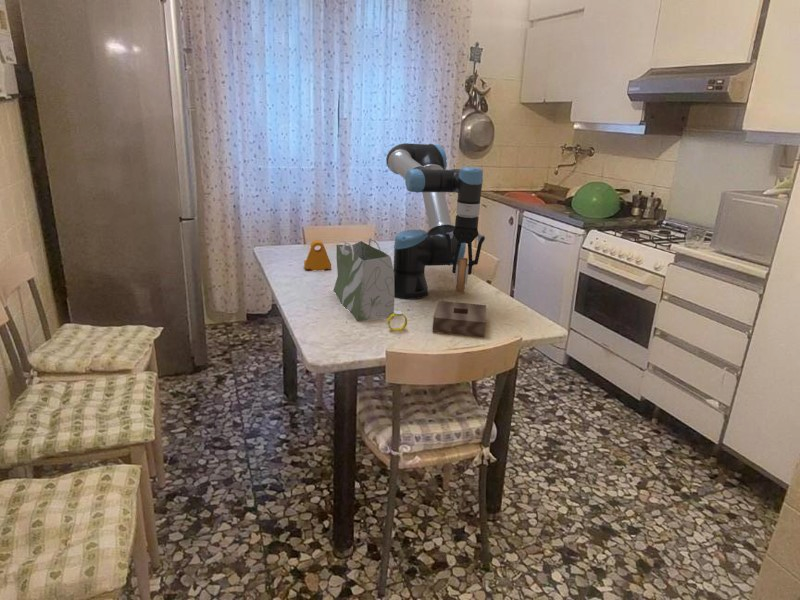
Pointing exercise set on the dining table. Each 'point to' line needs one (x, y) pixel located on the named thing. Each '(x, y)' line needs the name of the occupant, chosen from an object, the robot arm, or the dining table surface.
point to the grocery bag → (365, 281)
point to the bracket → (317, 257)
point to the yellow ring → (397, 313)
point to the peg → (461, 275)
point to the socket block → (460, 319)
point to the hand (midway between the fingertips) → (460, 282)
